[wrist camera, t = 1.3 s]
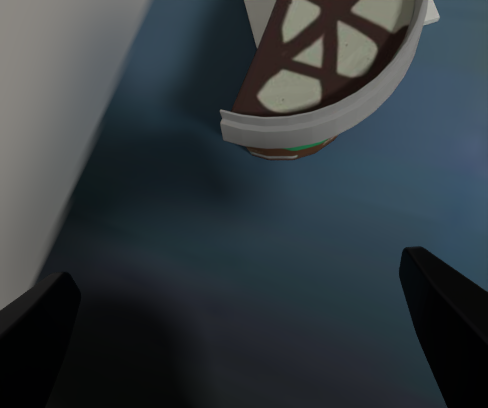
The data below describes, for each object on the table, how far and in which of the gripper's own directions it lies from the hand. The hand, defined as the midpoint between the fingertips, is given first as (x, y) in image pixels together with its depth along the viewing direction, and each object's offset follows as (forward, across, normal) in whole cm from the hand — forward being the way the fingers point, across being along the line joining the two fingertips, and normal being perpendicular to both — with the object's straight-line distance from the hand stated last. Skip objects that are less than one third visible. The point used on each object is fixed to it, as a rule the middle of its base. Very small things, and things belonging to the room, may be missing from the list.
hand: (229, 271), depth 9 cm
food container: (+16, -5, +2) cm, 17 cm away
